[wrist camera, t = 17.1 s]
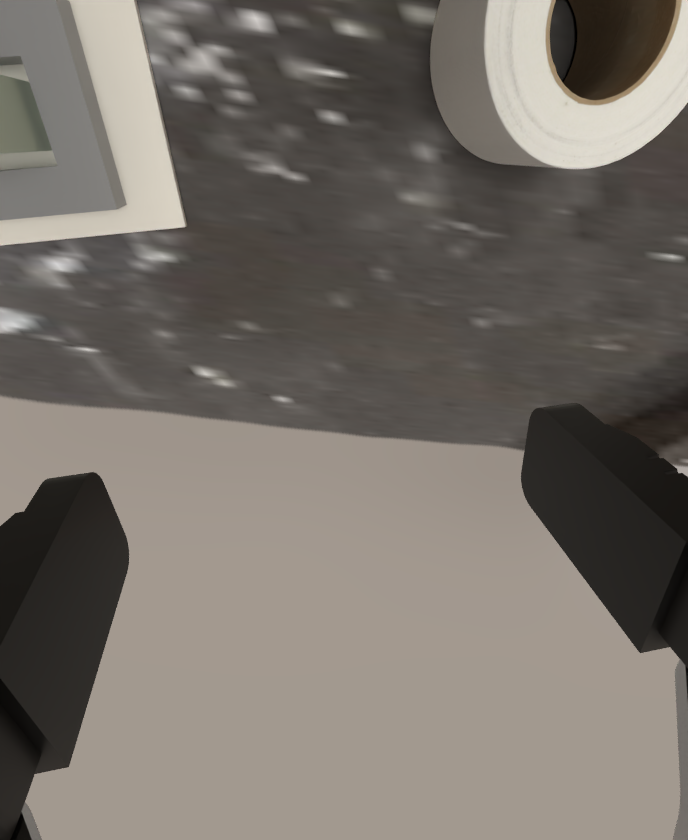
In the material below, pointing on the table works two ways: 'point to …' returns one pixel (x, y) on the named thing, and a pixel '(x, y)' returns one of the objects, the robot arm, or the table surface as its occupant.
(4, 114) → the plug
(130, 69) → the plate
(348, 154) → the table surface
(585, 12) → the roll of tape
